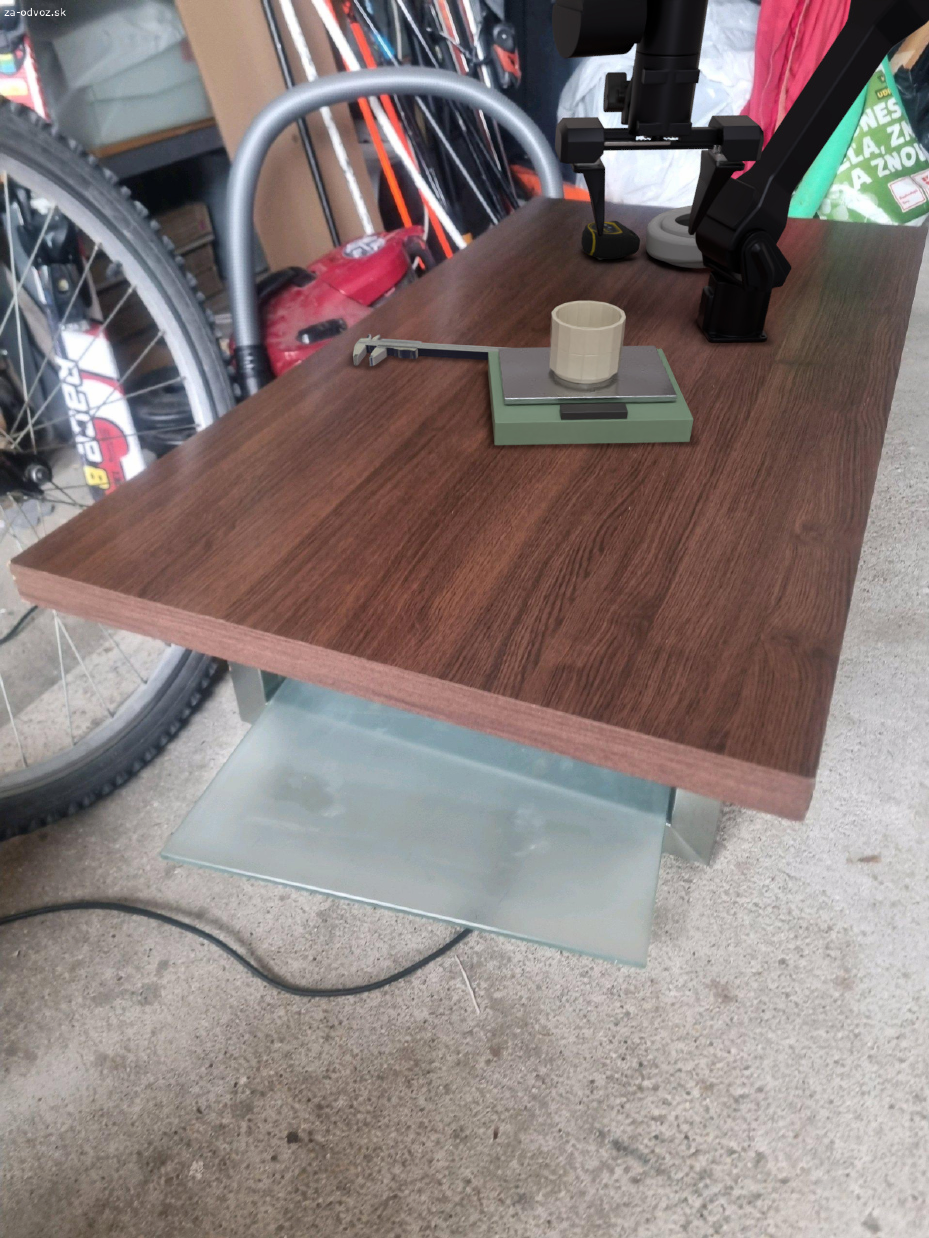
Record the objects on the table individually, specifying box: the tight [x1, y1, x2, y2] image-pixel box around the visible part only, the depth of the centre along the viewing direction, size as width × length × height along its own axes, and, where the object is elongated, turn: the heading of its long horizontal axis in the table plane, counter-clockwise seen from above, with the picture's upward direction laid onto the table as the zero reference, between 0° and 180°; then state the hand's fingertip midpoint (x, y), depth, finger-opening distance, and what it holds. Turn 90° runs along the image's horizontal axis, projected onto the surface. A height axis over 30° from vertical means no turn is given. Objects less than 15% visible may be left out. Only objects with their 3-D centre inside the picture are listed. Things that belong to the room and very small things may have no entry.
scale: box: [487, 348, 694, 446], centre depth 84 cm, size 18×15×3 cm
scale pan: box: [498, 345, 677, 404], centre depth 84 cm, size 16×11×1 cm
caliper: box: [352, 333, 506, 367], centre depth 94 cm, size 20×1×6 cm
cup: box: [549, 300, 627, 384], centre depth 82 cm, size 7×7×6 cm
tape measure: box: [580, 220, 641, 261], centre depth 116 cm, size 7×7×4 cm
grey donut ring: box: [645, 205, 707, 269], centre depth 114 cm, size 17×6×15 cm
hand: (645, 234), depth 87 cm, fingers open, 9 cm apart
